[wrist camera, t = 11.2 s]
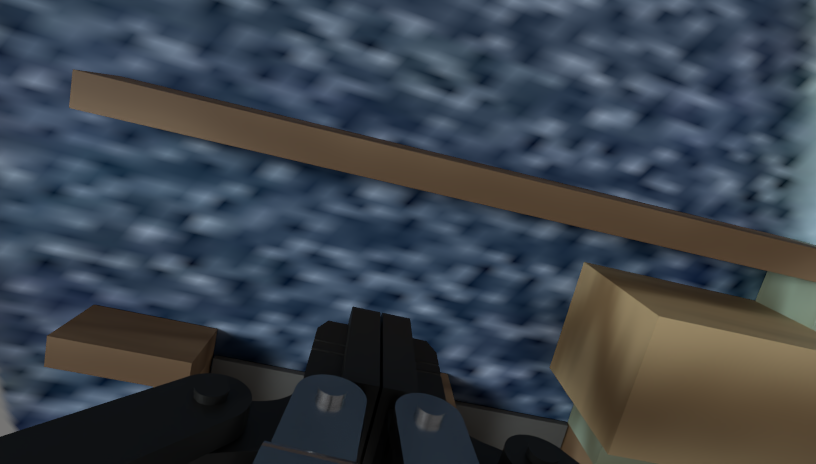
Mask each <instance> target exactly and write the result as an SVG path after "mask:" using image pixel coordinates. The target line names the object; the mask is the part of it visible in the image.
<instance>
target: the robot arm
mask: <svg viewBox="0 0 816 464" xmlns="http://www.w3.org/2000/svg"><path fill="white" fill-rule="evenodd" d="M438 365H439V364H438V359H437V354H436V352H435V351H434V350H433V348H432V347H431V346H430V345H429V344H428V343H427V341H423V340H418V339H414V338H412V331H411V323H410V319H409V318H404V317H400V316H395V315H390V314H386V313H382V314H381V317H380V312H376V311H371V310H367V309H362V308H357V307H352V311H351V315H350V319H349V323H348V325H347V324H342V323H337V322H332V321H327V322H326V323H324V324H323V325H321V326H320V327H318V328H317V332H316V335H315V339H314V342H313V346H312V350H311V353H310V356H309V360H308V364H307V367H306V371H305V374H304V378H303V379H302V380H301V381H300V382H299V383H298V384H297V385H296V387H295V389H294V392H293V394H291V395H290V396H287V397H285V398H281V399H277V400H269V401H252V394H251V391H250V389H249V388H248V387H247V386H246V385H245V384H244V383H243V382H241V381H240V380H238V379H236V378H233V377H230V376H227V375H222V374H215V373H204V374H196V375H191V376H187V377H184V378H181V379H178V380H175V381H172V382H169V383H166V384H163V385H160V386H156V387H153V388H150V389H147V390H144V391H141V392H138V393H135V394H132V395H129V396H125V397H122V398H119V399H116V400H113V401H110V402H107V403H104V404H101V405H97V406H94V407H91V408H88V409H85V410H82V411H79V412H76V413H73V414H70V415H66V416H63V417H60V418H57V419H54V420H51V421H48V422H45V423H42V424H39V425H35V426H32V427H29V428H26V429H23V430H20V431H17V432H14V433H11V434H8V435H4V436H1V437H0V464H580V463H578V462H577V461H576V460H574V459H573V458H572V457H571V456H569V455H568V454H567V453H565V452H564V451H563V450H561V449H560V448H558V447H557V446H555V445H554V444H552V443H550V442H548V441H546V440H544V439H541V438H539V437H535V436H532V435H524V434H519V435H514V436H511V437H509V438H508V439H507V440H506V442H505V445H504V447H503V450H500V449H498V448H495V447H493V446H490V445H488V444H486V443H483V442H481V441H479V440H477V439H475V438H473V437H471V436H469V434H468V431H467V428H466V425H465V423H464V420H463V418H462V416H461V414H460V413H459V411H458V410H457V409H456V408H455V407H454V406H452V405H451V404H450V403H448V402H447V401H446V397H445V392H444V387H443V383H442V378H441V376H440V374H441V373H440V368H439V366H438Z"/></svg>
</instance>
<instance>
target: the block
mask: <svg viewBox="0 0 816 464" xmlns="http://www.w3.org/2000/svg"><path fill="white" fill-rule="evenodd" d="M550 369H551V370H552V372H553V373H554V375H555V376H556V378H557V379H558V381H559V382H560V384H561V385H562V387H563V388H564V390H565V391H566V393H567V394H568V396H569V397H570V399H571V400H572V402H573V403H574V405H575V406H576V408H577V409H578V411H579V412H580V414H581V415H582V417H583V418H584V420H585V421H586V423H587V424H588V426H589V427H590V429H591V430H592V432H593V433H594V435H595V436H596V437H597V439H598V440H599V442H600V443H601V445H602V446H603V448H604V449H605V451H606V452H607V454H608V455H613V456H619V457H624V458H630V459H635V460H640V461H646V462H651V463H657V464H816V331H814V330H812V329H810V328H808V327H806V326H804V325H802V324H800V323H798V322H796V321H794V320H792V319H790V318H788V317H786V316H784V315H782V314H780V313H778V312H776V311H774V310H772V309H770V308H768V307H766V306H764V305H762V304H760V303H758V302H756V301H754V300H750V299H745V298H741V297H737V296H732V295H728V294H723V293H719V292H715V291H710V290H706V289H701V288H697V287H692V286H688V285H684V284H679V283H675V282H670V281H666V280H662V279H657V278H653V277H648V276H644V275H639V274H635V273H631V272H626V271H622V270H617V269H613V268H608V267H604V266H600V265H595V264H591V263H586V262H584V264H583V267H582V270H581V274H580V277H579V280H578V283H577V286H576V289H575V292H574V295H573V298H572V301H571V304H570V307H569V310H568V313H567V316H566V319H565V322H564V325H563V328H562V331H561V335H560V338H559V341H558V344H557V347H556V350H555V353H554V356H553V359H552V362H551V365H550Z"/></svg>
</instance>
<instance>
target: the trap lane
mask: <svg viewBox="0 0 816 464" xmlns="http://www.w3.org/2000/svg"><path fill="white" fill-rule="evenodd" d="M69 108H72V109H76V110H81V111H85V112H89V113H94V114H98V115H102V116H106V117H111V118H115V119H119V120H124V121H128V122H132V123H136V124H141V125H145V126H149V127H153V128H158V129H162V130H166V131H171V132H175V133H179V134H183V135H188V136H192V137H196V138H201V139H205V140H209V141H213V142H218V143H222V144H226V145H230V146H235V147H239V148H243V149H248V150H252V151H256V152H260V153H265V154H269V155H273V156H278V157H282V158H286V159H290V160H295V161H299V162H303V163H308V164H312V165H316V166H320V167H325V168H329V169H333V170H337V171H342V172H346V173H350V174H355V175H359V176H363V177H367V178H372V179H376V180H380V181H385V182H389V183H393V184H397V185H402V186H406V187H410V188H414V189H419V190H423V191H427V192H432V193H436V194H440V195H444V196H449V197H453V198H457V199H462V200H466V201H470V202H474V203H479V204H483V205H487V206H492V207H496V208H500V209H504V210H509V211H513V212H517V213H521V214H526V215H530V216H534V217H539V218H543V219H547V220H551V221H556V222H560V223H564V224H569V225H573V226H577V227H581V228H586V229H590V230H594V231H598V232H603V233H607V234H611V235H616V236H620V237H624V238H628V239H633V240H637V241H641V242H646V243H650V244H654V245H658V246H663V247H667V248H671V249H676V250H680V251H684V252H688V253H693V254H697V255H701V256H705V257H710V258H714V259H718V260H723V261H727V262H731V263H735V264H740V265H744V266H748V267H753V268H757V269H761V270H765V271H767V274H766V276H765V279H764V281H763V283H762V286H761V288H760V291H759V293H758V296H757V298H756V302H758V303H760V304H762V305H764V306H766V307H768V308H770V309H772V310H774V311H776V312H778V313H780V314H782V315H784V316H786V317H788V318H790V319H792V320H794V321H796V322H798V323H800V324H802V325H804V326H806V327H808V328H810V329H812V330H814V331H816V245H813V244H810V243H806V242H802V241H798V240H794V239H790V238H786V237H782V236H777V235H773V234H769V233H765V232H761V231H757V230H753V229H749V228H744V227H740V226H736V225H732V224H728V223H724V222H720V221H715V220H711V219H707V218H703V217H699V216H695V215H691V214H687V213H682V212H678V211H674V210H670V209H666V208H662V207H658V206H654V205H649V204H645V203H641V202H637V201H633V200H629V199H625V198H621V197H616V196H612V195H608V194H604V193H600V192H596V191H592V190H588V189H583V188H579V187H575V186H571V185H567V184H563V183H559V182H555V181H550V180H546V179H542V178H538V177H534V176H530V175H526V174H522V173H517V172H513V171H509V170H505V169H501V168H497V167H493V166H489V165H484V164H480V163H476V162H472V161H468V160H464V159H460V158H456V157H451V156H447V155H443V154H439V153H435V152H431V151H427V150H423V149H418V148H414V147H410V146H406V145H402V144H398V143H394V142H389V141H385V140H381V139H377V138H373V137H369V136H365V135H361V134H356V133H352V132H348V131H344V130H340V129H336V128H332V127H328V126H323V125H319V124H315V123H311V122H307V121H303V120H299V119H295V118H290V117H286V116H282V115H278V114H274V113H270V112H266V111H262V110H257V109H253V108H249V107H245V106H241V105H237V104H233V103H229V102H224V101H220V100H216V99H212V98H208V97H204V96H200V95H196V94H191V93H187V92H183V91H179V90H175V89H171V88H167V87H163V86H158V85H154V84H150V83H146V82H142V81H138V80H134V79H130V78H125V77H121V76H115V75H108V74H101V73H94V72H87V71H80V70H73V73H72V83H71V94H70V104H69ZM217 330H218V329H215V328H210V327H205V326H200V325H195V324H190V323H185V322H180V321H175V320H169V319H164V318H159V317H154V316H149V315H144V314H139V313H134V312H129V311H124V310H118V309H113V308H108V307H103V306H98V305H93V306H91V307H90V308H88V309H87V310H85V311H84V312H82V313H81V314H79V315H78V316H76V317H75V318H73V319H72V320H70V321H69V322H67V323H66V324H64V325H63V326H61V327H60V328H58V329H57V330H55V331H54V332H52V333H51V334H49V335H48V336H47V342H46V353H45V363H44V367H49V368H55V369H60V370H66V371H71V372H77V373H82V374H88V375H93V376H99V377H104V378H110V379H115V380H121V381H126V382H132V383H137V384H143V385H148V386H153V387H156V386H160V385H163V384H166V383H169V382H172V381H175V380H178V379H181V378H184V377H187V376H191V375H196V374H204V373H210V370H211V373H215V374H222V375H227V376H230V377H233V378H236V379H238V380H240V381H241V382H243V383H244V384H245V385H246V386H247V387H248V388H249V389H250V391H251V394H252V401H269V400H277V399H281V398H285V397H287V396H290V395H291V394H293V392H294V389H295V387H296V385H297V384H298V383H299V382H300V381H301V380H302V379H303V378H304V374H305V372H301V371H296V370H291V369H285V368H280V367H275V366H270V365H264V364H259V363H254V362H249V361H243V360H238V359H233V358H228V357H222V356H217V355H215V357H214V358H213V353H214V347H215V341H216V335H217ZM212 358H213V363H212ZM211 364H212V369H211ZM440 376H441V378H442V383H443V387H444V392H445V397H446V401H447V402H448V403H450V404H451V405H452V406H454V407H455V408H456V409H457V410H458V411H459V413H460V414H461V416H462V418H463V420H464V423H465V425H466V428H467V431H468V434H469V436H471V437H473V438H475V439H477V440H479V441H481V442H483V443H486V444H488V445H490V446H493V447H495V448H498V449H500V450H503V447H504V445H505V442H506V440H507V439H508V438H509V437H511V436H514V435H519V434H524V435H532V436H535V437H539V438H541V439H544V440H546V441H548V442H550V443H552V444H554V445H555V446H557V447H558V448H560V449H561V450H563V451H564V452H565V453H567V454H568V455H569V456H571V457H572V458H573V459H574V460H576V461H577V462H578V463H580V464H657V463H651V462H646V461H640V460H635V459H630V458H624V457H619V456H613V455H608V454H607V452H606V451H605V449H604V448H603V446H602V445H601V443H600V442H599V440H598V439H597V437H596V436H595V435H594V433H593V432H592V430H591V429H590V427H589V426H588V424H587V423H586V421H585V420H584V418H583V417H582V415H581V414H580V412H579V411H578V409H577V408H576V406H575V405H573V408H572V411H571V414H570V417H569V420H568V423H566V422H564V421H558V420H553V419H548V418H543V417H537V416H532V415H527V414H522V413H516V412H511V411H506V410H501V409H495V408H490V407H485V406H480V405H474V404H469V403H464V402H459V401H455V400H454V396H453V393H452V389H451V385H450V381H449V377H448V374H445V373H441V374H440Z"/></svg>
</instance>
